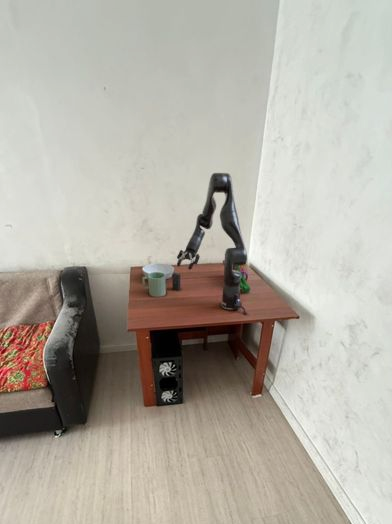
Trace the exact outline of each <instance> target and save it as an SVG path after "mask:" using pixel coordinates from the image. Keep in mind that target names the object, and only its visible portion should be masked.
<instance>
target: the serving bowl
mask: <svg viewBox="0 0 392 524" xmlns="http://www.w3.org/2000/svg"><path fill="white" fill-rule="evenodd" d="M153 272H161V273H164V274H165V278H166V280H168V279H170V278H171V277H172V274H173V273H175V268H174V266H173V265H170V264H168V263H163V262H162V263H161V262H155V263H153V262H152V263H148V264H146V265H144V266H142V273H143V276H144V277H148V274H150V273H153Z"/></svg>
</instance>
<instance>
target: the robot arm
mask: <svg viewBox="0 0 392 524" xmlns="http://www.w3.org/2000/svg"><path fill="white" fill-rule="evenodd" d="M215 193H216V194H217V193H219V194H220V193H221V194H223V193H224V197H225V198H224V201H223V205H222V207H221V209H220V212H219V220H220V226H221V229H222V230H223V232H224V233H225V234H226V235H227V236H228V237H229V238H230V239H231V241H232V242H233V245H234V247H228V248H226V250H225V252H224V259H225V261H224V264H223V283H222V284H223V285H222V294H221V295H222V296H221V301H220V302H221V305H220V307H222V309H223V310H227V311H236V310H238V311H239V310H240V309H242V310H243V314H244V315H248V313H247V312H246V308H245V307H244V306H242V305H243V302H242V301H240V299H241V292H242V290H241V288H240V283H241V273H240V272H239V271H236V270H233V266H242V267H243V265H244V266H245V265H247V263H248V254H247V249H246V246H245V242H244V239H243V235H242V231H241V226H240V221H239V216H238V211H237V207H236V202H235V197H234V188H233V180H232V176H231V174H230V173H228V172H213V173H212V174H211V175H210V178H209V182H208V187H207V192H206V198H205V203H204V206H203V208H202V211H201V213H199V214H198V215H197V217H196V221H195V222H196V223H195V227H194V230H193V232H192V234H191V237H190V238H189V240H188V243H187V244H186V247H185V250H182V249H180V250H179V253H178V254H177V256H176V259H177V260H178V261H177V263H176V266H177V267H180V266H181V264H182V262H183V261H185V260H189V261H190V263H189V265H188V267H187V268H188V270H189V271H191V270H192V269H193V266H194V265H198V263H199V260H200V258H201V257H200V256H201V255H200V254H199V253H198V251H199V249H200V247H201V245H202V241H203V240H204V237H205V235H206V232H205V230H210V229H211V228H212V227H213V224H214V216H215V215H214V214H215V212H216V210H217V201H216V199H215V196H214V195H215ZM204 229H205V230H204Z"/></svg>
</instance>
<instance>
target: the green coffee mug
mask: <svg viewBox="0 0 392 524" xmlns="http://www.w3.org/2000/svg"><path fill="white" fill-rule="evenodd" d="M145 280H147V282H148V283H147V284H148V286H146V281H145ZM166 281H167V279H166V278H165V274H164V273H161V272H153V273H150V274H148V277H146V276H142V288H143V289H144V290H148V295H149V296H151V297H154V298H160V297H164V296H165V295H166V294H167V282H166Z"/></svg>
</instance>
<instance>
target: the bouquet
mask: <svg viewBox="0 0 392 524" xmlns="http://www.w3.org/2000/svg"><path fill="white" fill-rule="evenodd" d="M224 261H225V258H224V259H223V260H222V264H223V265H224ZM244 269H245V265H243V266H233V270H236V271H239V272H240V273H241V283H240V290H241V292H242V293H250V292H251V287H250V286H249V284H248V283H247V281H248V279H249V275H248V272H246V271H244Z"/></svg>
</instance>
